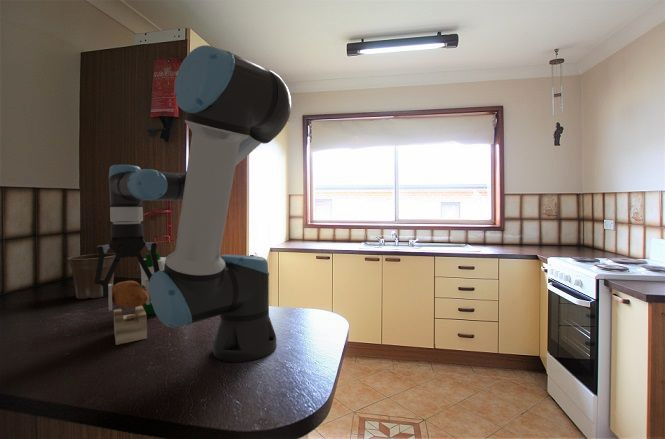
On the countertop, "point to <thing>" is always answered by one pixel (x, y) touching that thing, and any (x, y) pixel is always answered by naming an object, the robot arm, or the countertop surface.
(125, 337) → the cradle
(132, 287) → the potato
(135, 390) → the countertop surface
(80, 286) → the plant pot
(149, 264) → the milk carton
